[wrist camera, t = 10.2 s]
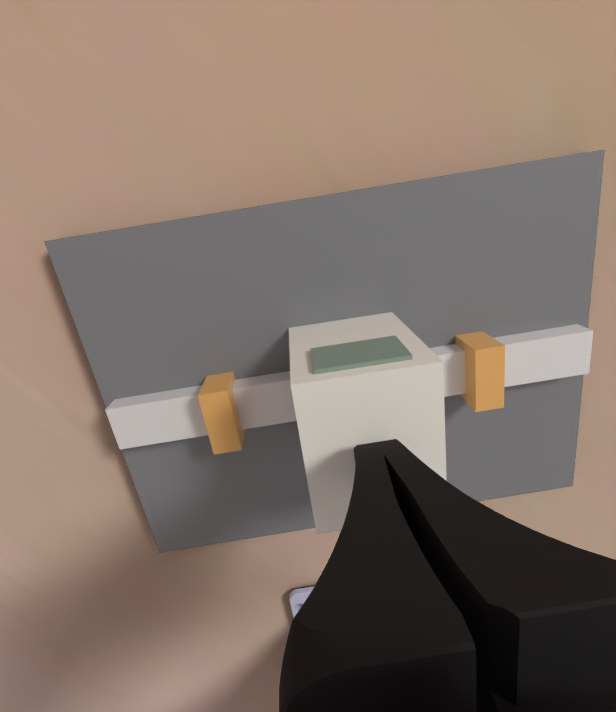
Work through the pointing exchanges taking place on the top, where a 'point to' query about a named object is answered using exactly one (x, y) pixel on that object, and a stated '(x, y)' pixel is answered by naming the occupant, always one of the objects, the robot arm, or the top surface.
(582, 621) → the robot arm
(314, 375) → the block
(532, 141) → the top surface
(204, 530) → the mounting board
